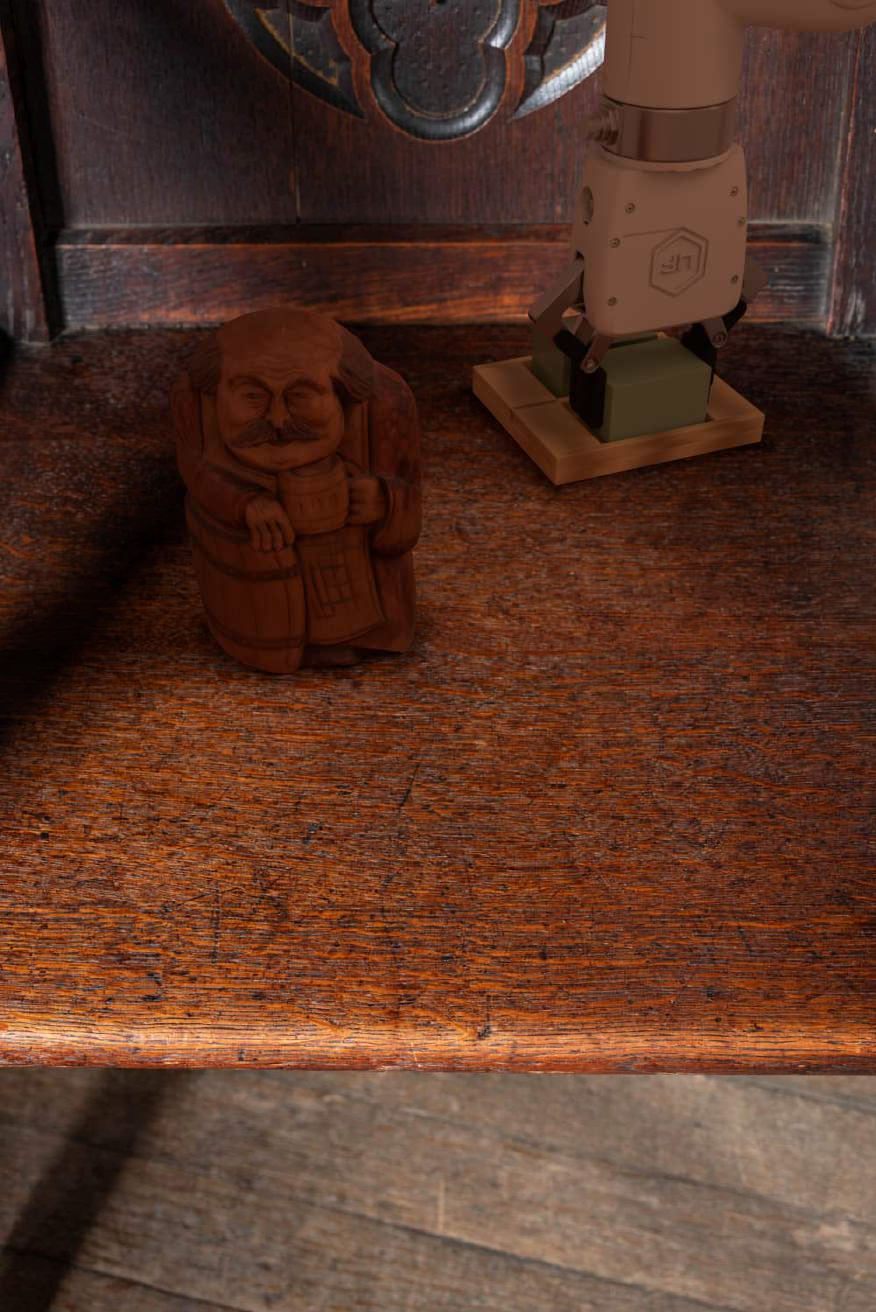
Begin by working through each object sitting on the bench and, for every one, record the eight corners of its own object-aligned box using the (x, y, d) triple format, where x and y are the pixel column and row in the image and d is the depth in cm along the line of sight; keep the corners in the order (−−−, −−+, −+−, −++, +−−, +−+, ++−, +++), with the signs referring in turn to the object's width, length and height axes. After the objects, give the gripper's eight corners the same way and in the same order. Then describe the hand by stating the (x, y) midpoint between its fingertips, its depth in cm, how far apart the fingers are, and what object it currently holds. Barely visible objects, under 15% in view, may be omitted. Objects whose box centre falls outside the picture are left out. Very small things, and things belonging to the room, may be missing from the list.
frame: (659, 356, 93) (666, 291, 90) (760, 441, 83) (772, 372, 80) (472, 391, 89) (472, 325, 86) (555, 486, 79) (559, 414, 76)
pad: (667, 391, 86) (673, 336, 83) (704, 424, 82) (712, 367, 79) (574, 410, 84) (577, 355, 81) (608, 445, 80) (612, 388, 78)
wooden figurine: (202, 684, 64) (147, 358, 53) (203, 610, 69) (153, 298, 58) (430, 662, 66) (424, 339, 54) (415, 591, 71) (407, 281, 59)
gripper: (555, 165, 66) (543, 461, 77) (835, 124, 71) (786, 409, 82) (499, 126, 72) (495, 408, 83) (762, 90, 76) (725, 361, 88)
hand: (640, 406), depth 82 cm, fingers closed on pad, 7 cm apart
